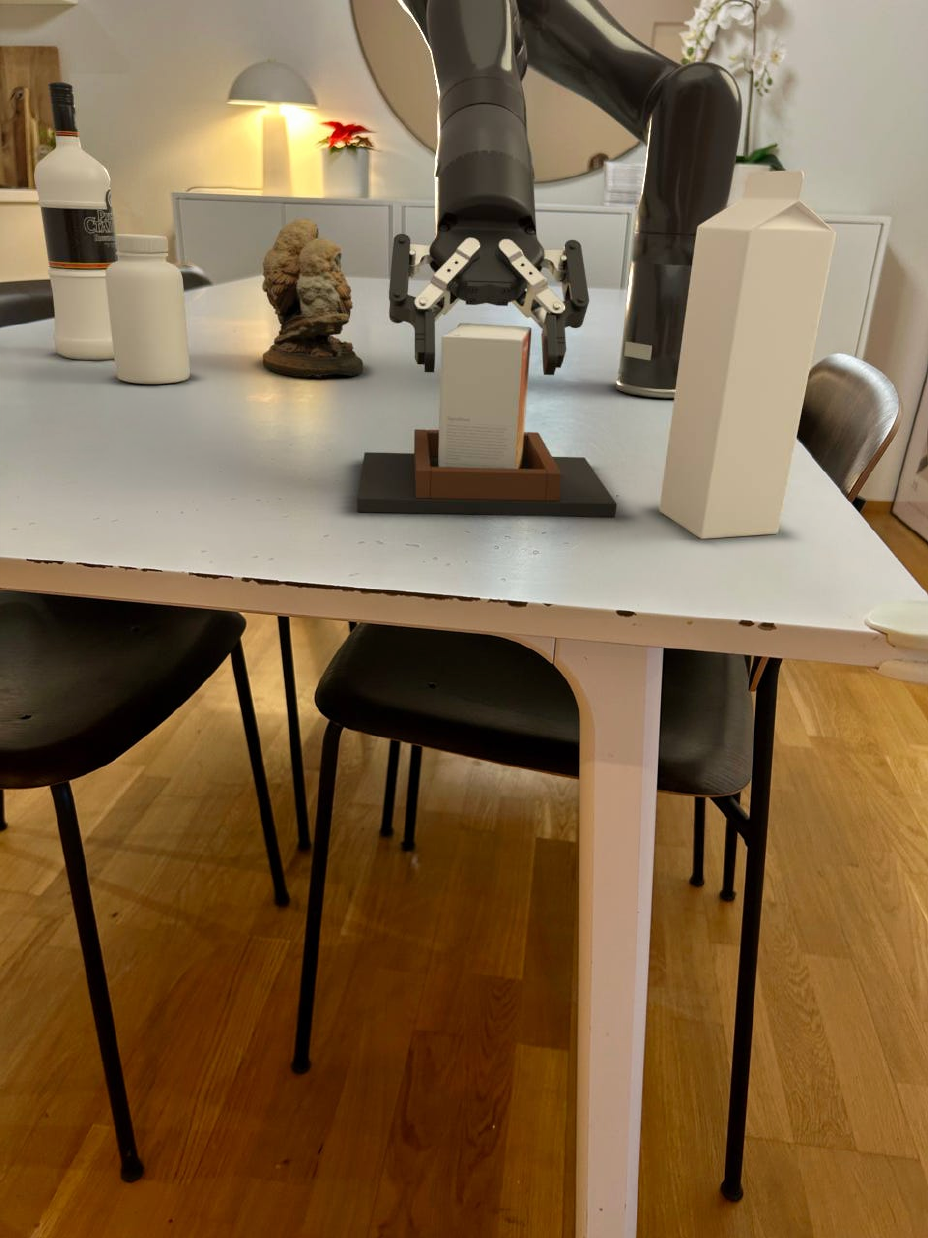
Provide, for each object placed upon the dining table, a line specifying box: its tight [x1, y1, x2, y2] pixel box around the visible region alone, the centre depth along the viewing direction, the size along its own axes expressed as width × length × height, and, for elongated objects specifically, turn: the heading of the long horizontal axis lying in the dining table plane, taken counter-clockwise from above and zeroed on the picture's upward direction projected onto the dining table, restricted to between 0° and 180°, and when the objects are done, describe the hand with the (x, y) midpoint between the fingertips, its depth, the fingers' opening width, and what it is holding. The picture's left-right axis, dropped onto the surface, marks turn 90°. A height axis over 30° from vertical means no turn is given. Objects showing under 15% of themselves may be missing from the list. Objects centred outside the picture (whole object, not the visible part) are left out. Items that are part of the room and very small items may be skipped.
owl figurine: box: [261, 218, 364, 378], centre depth 109 cm, size 18×12×17 cm, turn 28°
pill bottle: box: [105, 233, 191, 385], centre depth 99 cm, size 8×8×15 cm
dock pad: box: [356, 428, 617, 518], centre depth 68 cm, size 18×12×3 cm
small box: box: [438, 322, 533, 469], centre depth 65 cm, size 8×6×10 cm
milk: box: [658, 170, 837, 540], centre depth 58 cm, size 6×6×22 cm
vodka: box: [33, 81, 119, 361], centre depth 108 cm, size 9×9×30 cm
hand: (490, 367), depth 63 cm, fingers open, 8 cm apart
